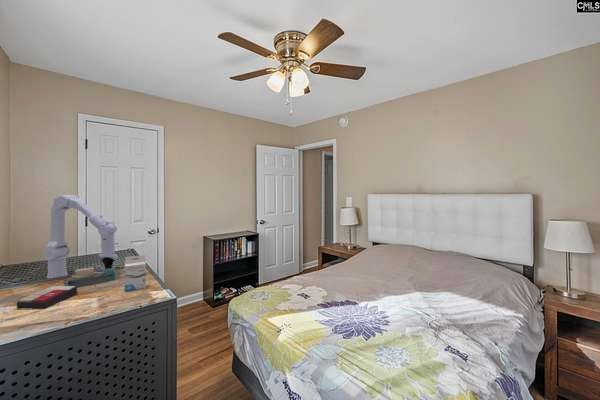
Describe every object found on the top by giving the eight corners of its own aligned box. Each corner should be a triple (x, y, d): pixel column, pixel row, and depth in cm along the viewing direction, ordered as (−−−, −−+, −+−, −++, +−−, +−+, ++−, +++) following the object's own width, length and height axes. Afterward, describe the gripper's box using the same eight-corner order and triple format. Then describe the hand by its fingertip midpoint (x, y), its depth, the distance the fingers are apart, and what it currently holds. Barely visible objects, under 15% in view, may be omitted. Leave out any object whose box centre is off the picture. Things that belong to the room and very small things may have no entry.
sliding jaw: (71, 280, 132) (71, 273, 132) (114, 273, 144) (113, 266, 144) (72, 282, 129) (72, 274, 129) (115, 274, 142) (114, 267, 142)
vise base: (63, 280, 134) (63, 272, 133) (115, 271, 149) (115, 264, 149) (65, 290, 120) (64, 282, 120) (122, 279, 135) (122, 272, 135)
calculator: (15, 300, 101) (52, 284, 116) (16, 311, 101) (53, 294, 116) (44, 300, 101) (77, 284, 116) (44, 311, 101) (77, 294, 116)
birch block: (75, 281, 130) (75, 269, 130) (93, 278, 135) (93, 267, 135) (76, 283, 127) (75, 271, 127) (94, 280, 132) (93, 268, 132)
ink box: (124, 291, 118) (124, 259, 118) (124, 288, 123) (124, 257, 122) (146, 288, 123) (146, 256, 123) (145, 284, 127) (145, 254, 127)
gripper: (92, 246, 142) (92, 271, 142) (107, 249, 136) (108, 274, 136) (106, 244, 148) (107, 267, 149) (122, 246, 142) (122, 271, 142)
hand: (108, 271), depth 143 cm, fingers closed
